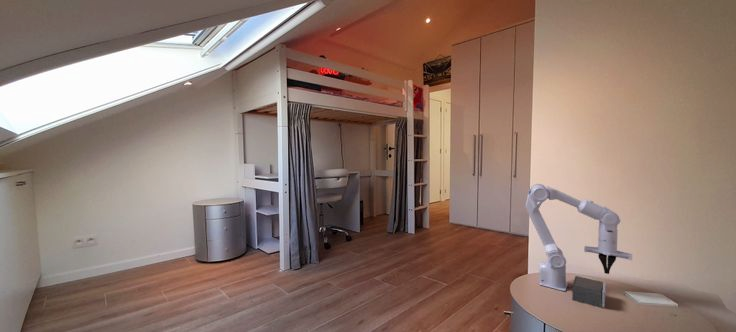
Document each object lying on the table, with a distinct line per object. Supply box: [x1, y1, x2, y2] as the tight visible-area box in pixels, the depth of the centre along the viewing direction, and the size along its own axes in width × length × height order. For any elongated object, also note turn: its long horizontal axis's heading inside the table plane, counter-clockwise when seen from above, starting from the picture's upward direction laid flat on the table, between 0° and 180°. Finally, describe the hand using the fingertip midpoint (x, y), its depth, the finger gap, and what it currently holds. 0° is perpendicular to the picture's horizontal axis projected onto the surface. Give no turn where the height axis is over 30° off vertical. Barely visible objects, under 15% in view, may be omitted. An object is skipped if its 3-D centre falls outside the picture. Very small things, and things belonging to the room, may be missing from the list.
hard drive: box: [623, 291, 679, 308], centre depth 108 cm, size 2×8×12 cm
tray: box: [601, 281, 607, 308], centre depth 110 cm, size 9×9×6 cm
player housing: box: [571, 275, 604, 308], centre depth 111 cm, size 9×9×6 cm
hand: (606, 272), depth 114 cm, fingers closed
